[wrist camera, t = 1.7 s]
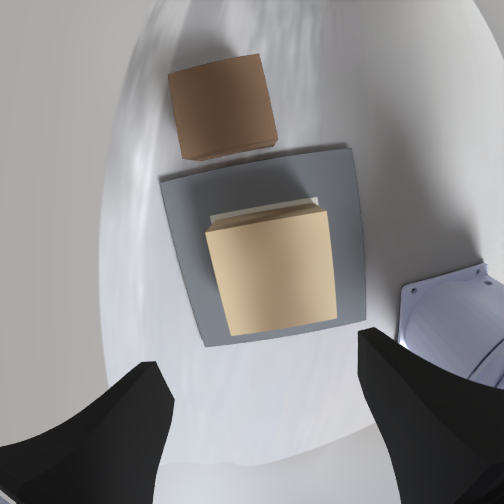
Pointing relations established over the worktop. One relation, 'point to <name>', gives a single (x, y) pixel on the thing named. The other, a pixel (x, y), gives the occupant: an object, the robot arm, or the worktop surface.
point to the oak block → (274, 268)
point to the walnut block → (222, 108)
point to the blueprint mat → (261, 199)
